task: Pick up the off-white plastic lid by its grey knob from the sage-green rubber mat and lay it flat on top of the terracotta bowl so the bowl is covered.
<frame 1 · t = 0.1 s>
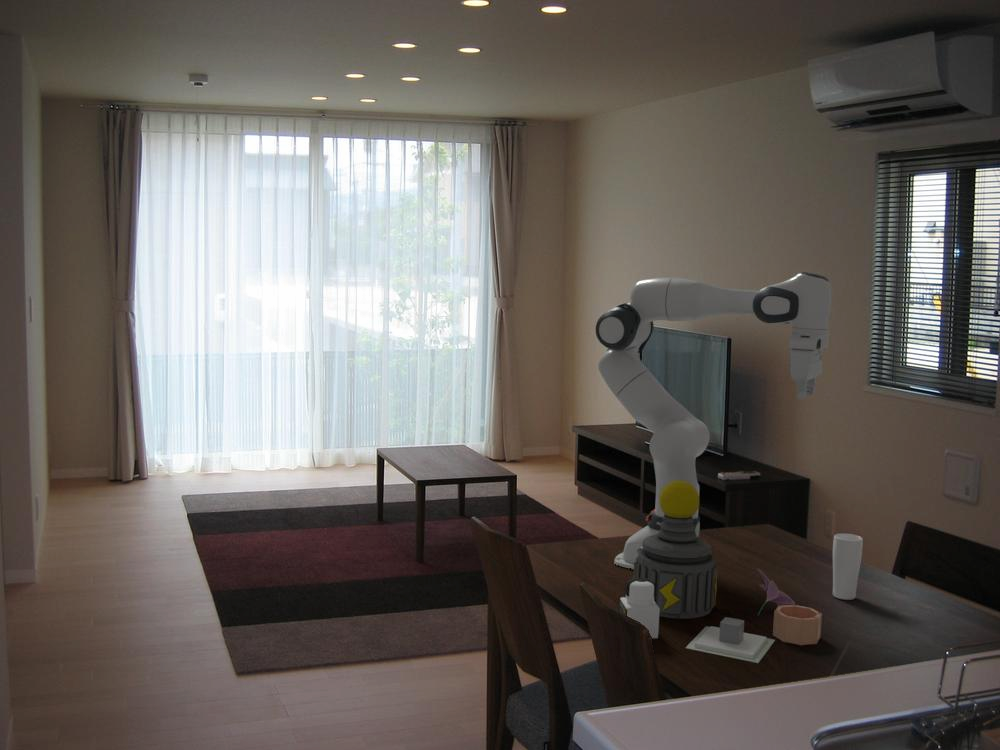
hand: (805, 396, 254), 48 cm above the table, tool pointing down, fingers open, 8 cm apart
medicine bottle: (637, 635, 224), on the table
drinking glass: (843, 598, 254), on the table
lily: (773, 615, 240), on the table
mat: (730, 646, 219), on the table
lid: (730, 643, 219), point 1 cm above the table, touching mat
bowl: (796, 639, 224), on the table
decorative lamp: (673, 609, 242), on the table
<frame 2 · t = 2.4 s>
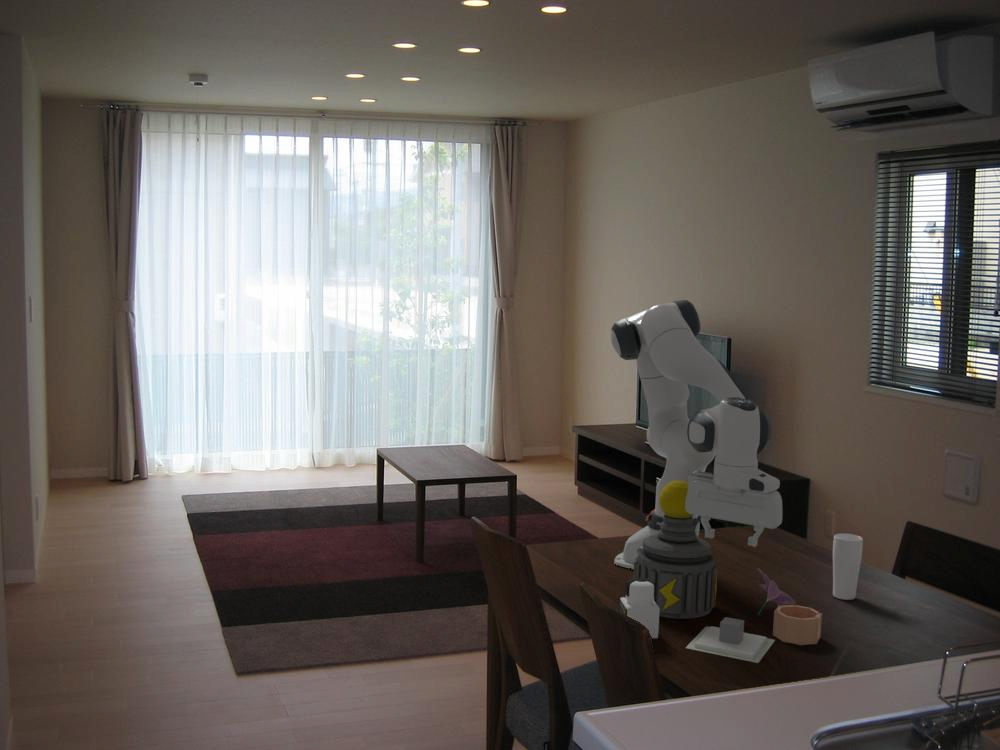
hand: (730, 541, 219), 22 cm above the table, tool pointing down, fingers open, 8 cm apart
nothing on the table moved.
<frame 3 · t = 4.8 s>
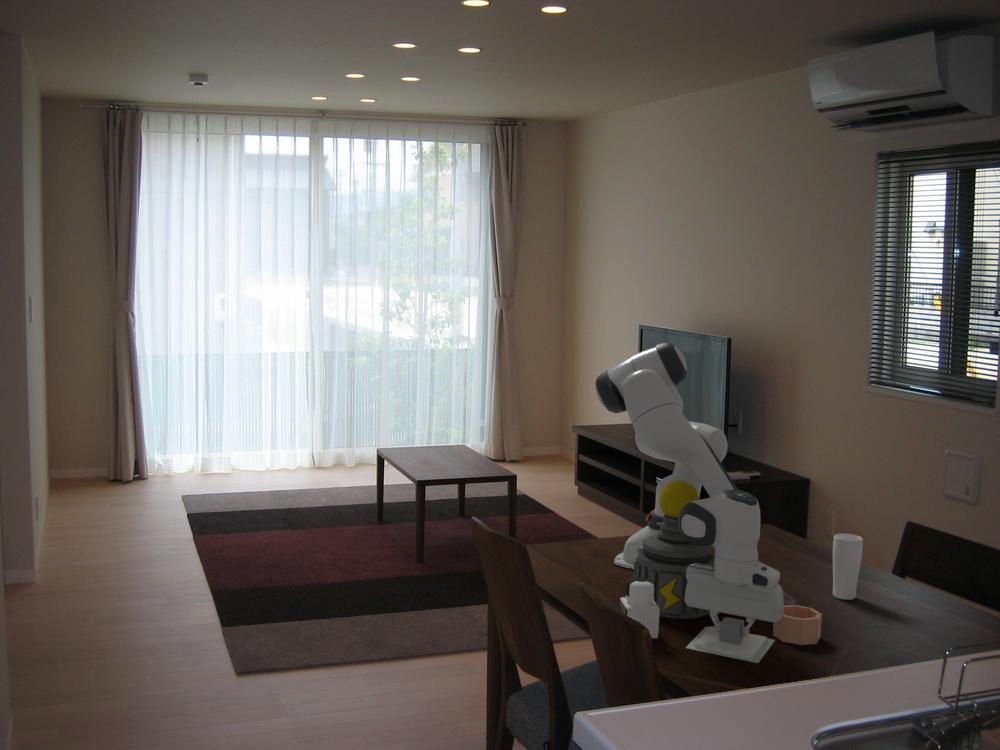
hand: (731, 633, 218), 3 cm above the table, tool pointing down, fingers closed on lid, 4 cm apart
lid: (730, 643, 219), point 1 cm above the table, touching gripper, mat
everything else where it was.
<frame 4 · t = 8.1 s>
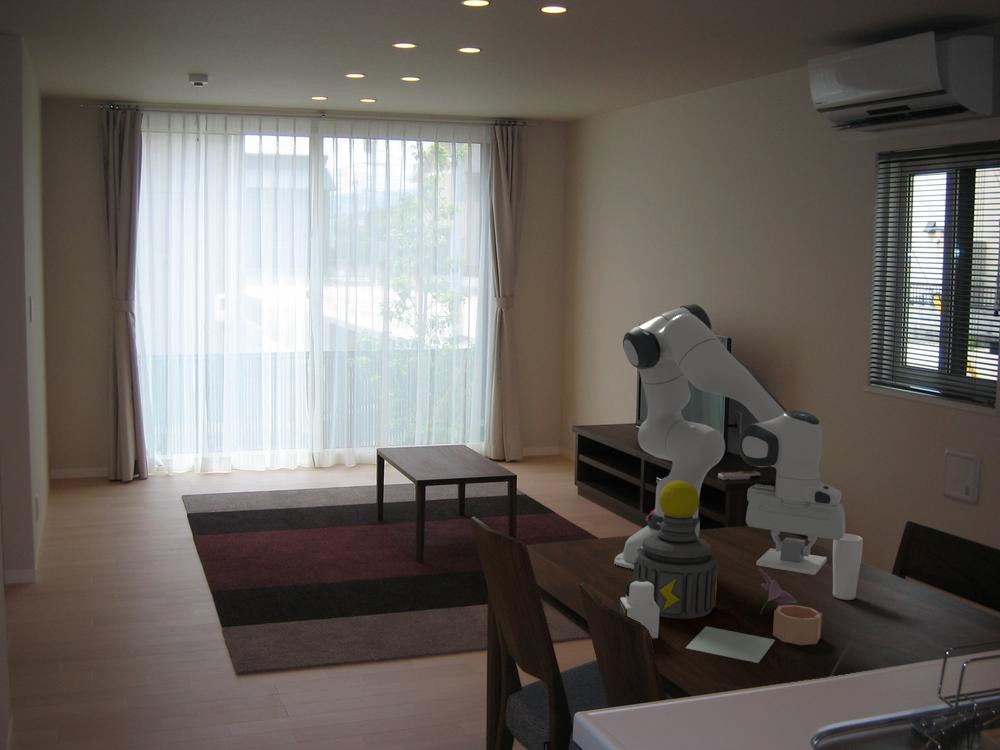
hand: (792, 553, 221), 19 cm above the table, tool pointing down, fingers closed on lid, 4 cm apart
lid: (791, 563, 222), point 17 cm above the table, touching gripper
everything else where it was.
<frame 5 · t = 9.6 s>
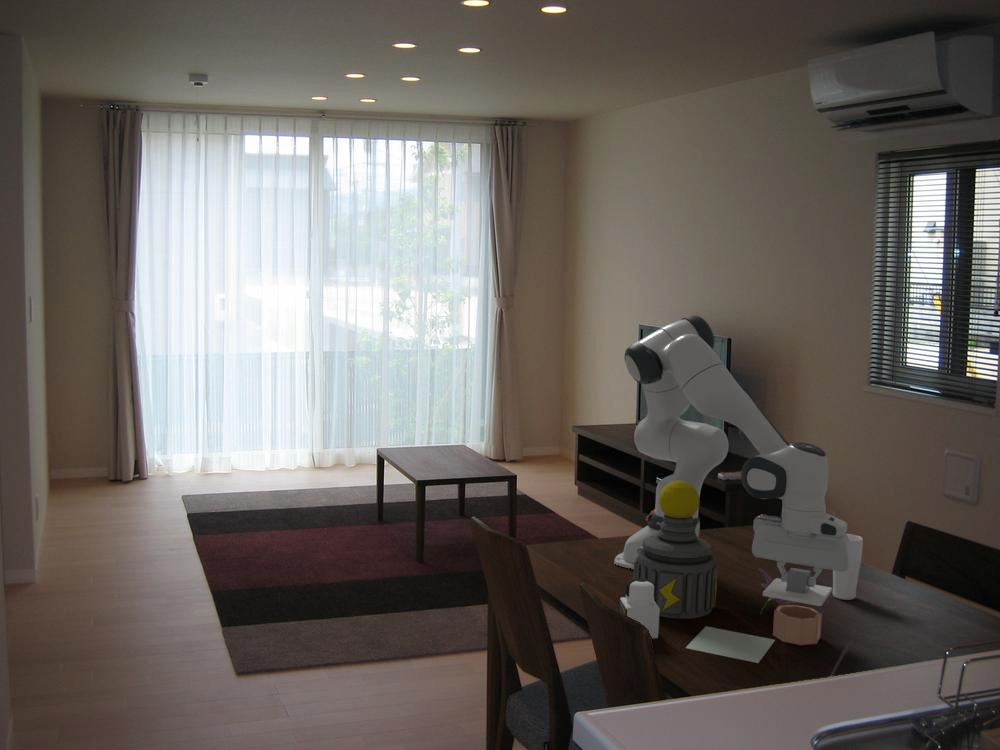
hand: (798, 584, 223), 12 cm above the table, tool pointing down, fingers closed on lid, 4 cm apart
lid: (797, 593, 223), point 10 cm above the table, touching gripper
when the fingers open (9 cm above the table, at t = 11.0 s): lid stays where it is, resting on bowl.
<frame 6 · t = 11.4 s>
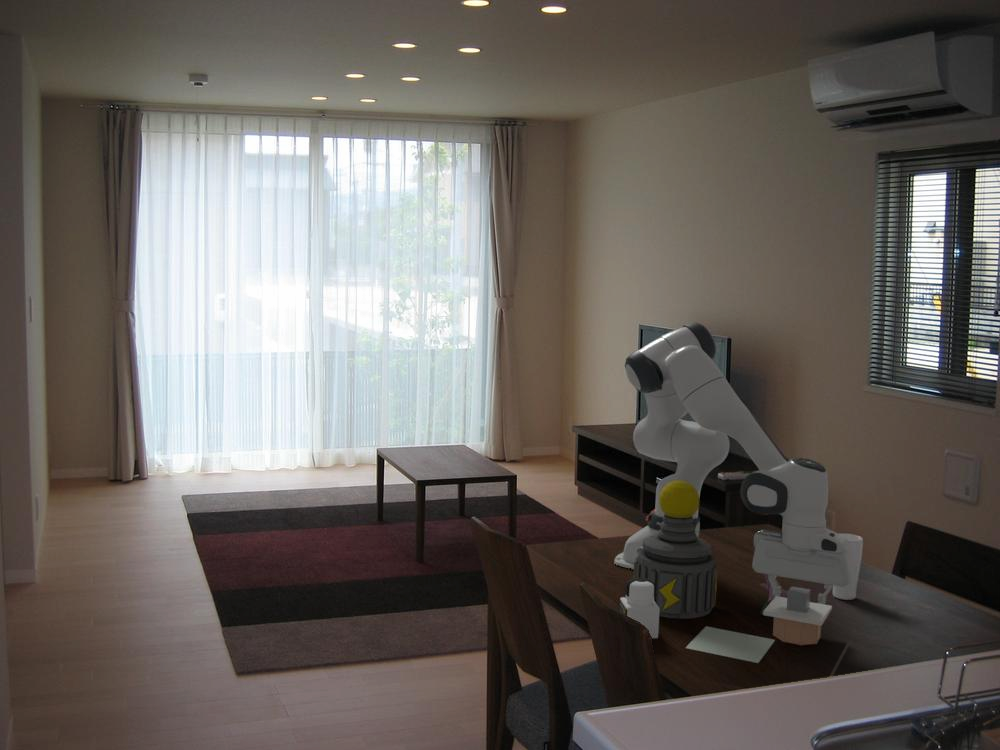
hand: (798, 599, 223), 9 cm above the table, tool pointing down, fingers open, 8 cm apart
lid: (797, 612, 224), point 6 cm above the table, touching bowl
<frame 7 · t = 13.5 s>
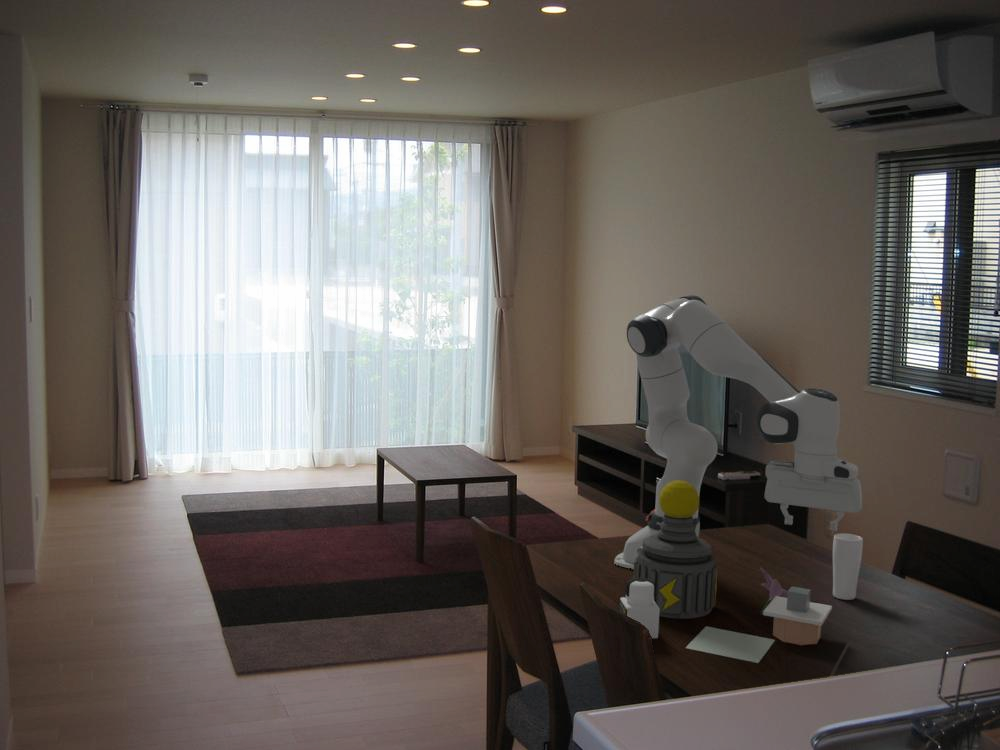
hand: (810, 527, 228), 23 cm above the table, tool pointing down, fingers open, 8 cm apart
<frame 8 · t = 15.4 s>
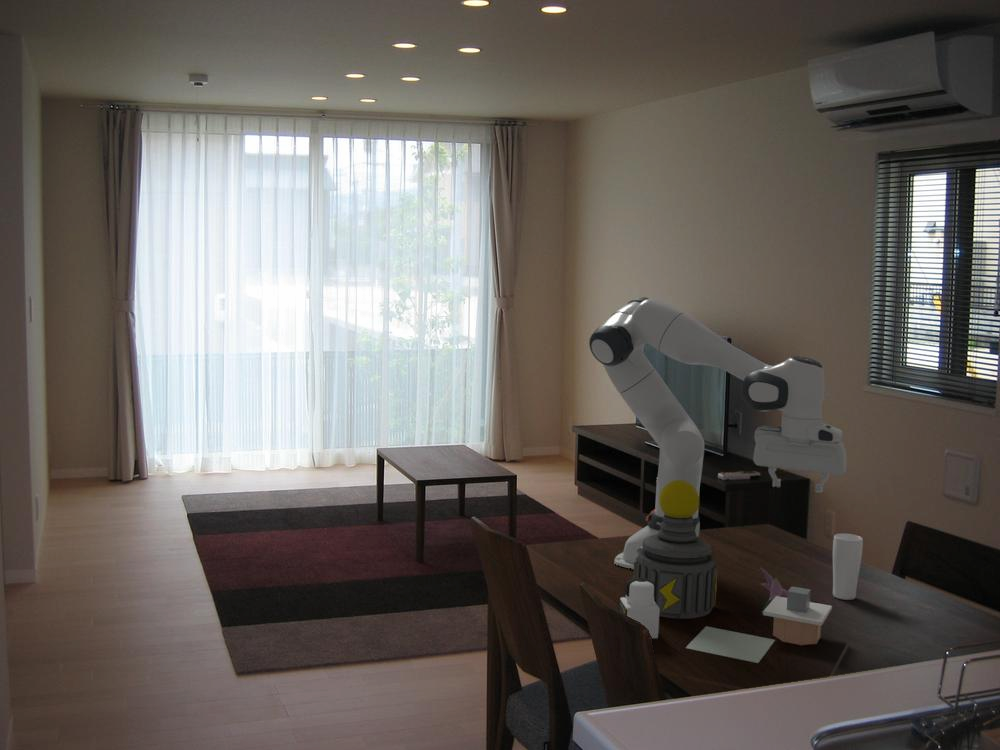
hand: (797, 489, 237), 29 cm above the table, tool pointing down, fingers open, 8 cm apart
at the end: lid 0.1 cm off-centre on the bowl, point 6.0 cm above the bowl's base; lid tilted 0°; the gripper is holding nothing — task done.
